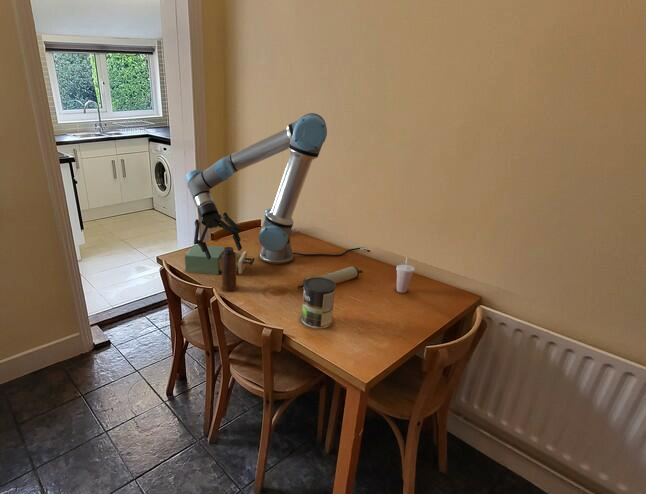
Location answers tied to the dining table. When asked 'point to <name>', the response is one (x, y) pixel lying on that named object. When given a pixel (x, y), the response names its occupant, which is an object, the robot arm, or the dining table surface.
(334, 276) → the rolling pin
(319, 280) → the coffee can
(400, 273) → the smoothie
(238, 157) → the robot arm
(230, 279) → the pepper mill
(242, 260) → the drawer
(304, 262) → the dining table surface
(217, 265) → the cabinet
